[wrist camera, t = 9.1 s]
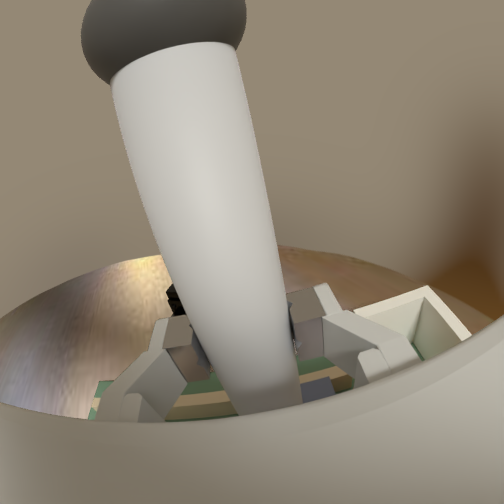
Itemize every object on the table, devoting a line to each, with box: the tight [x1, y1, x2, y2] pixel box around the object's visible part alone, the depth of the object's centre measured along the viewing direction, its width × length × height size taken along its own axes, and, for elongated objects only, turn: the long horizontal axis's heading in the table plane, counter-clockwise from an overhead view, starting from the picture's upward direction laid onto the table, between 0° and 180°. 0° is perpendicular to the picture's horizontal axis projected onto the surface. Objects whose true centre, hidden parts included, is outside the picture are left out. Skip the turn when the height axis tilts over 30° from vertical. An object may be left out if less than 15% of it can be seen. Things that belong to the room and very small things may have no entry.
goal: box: [91, 285, 472, 420], centre depth 13 cm, size 28×13×5 cm, turn 95°
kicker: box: [81, 0, 336, 416], centre depth 9 cm, size 6×5×22 cm
